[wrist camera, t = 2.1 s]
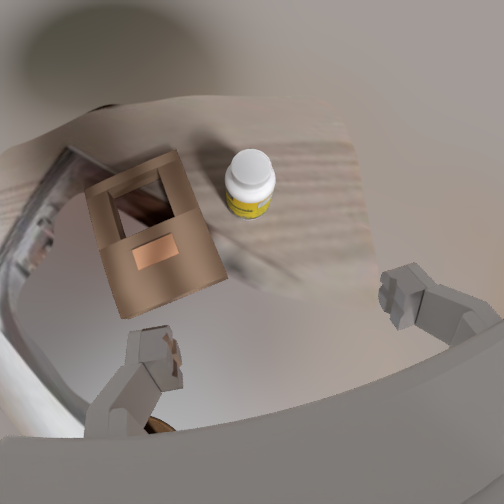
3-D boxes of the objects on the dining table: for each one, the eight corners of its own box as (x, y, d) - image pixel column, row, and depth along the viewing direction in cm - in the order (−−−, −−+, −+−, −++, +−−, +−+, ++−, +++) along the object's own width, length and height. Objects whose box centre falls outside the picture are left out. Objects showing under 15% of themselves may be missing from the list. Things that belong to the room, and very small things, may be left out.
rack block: (129, 319, 36) (120, 318, 33) (93, 198, 39) (83, 189, 36) (227, 278, 38) (227, 274, 35) (179, 160, 41) (175, 148, 38)
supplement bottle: (217, 201, 40) (211, 165, 30) (247, 173, 41) (250, 132, 31) (248, 230, 39) (252, 201, 30) (278, 201, 40) (290, 165, 31)
